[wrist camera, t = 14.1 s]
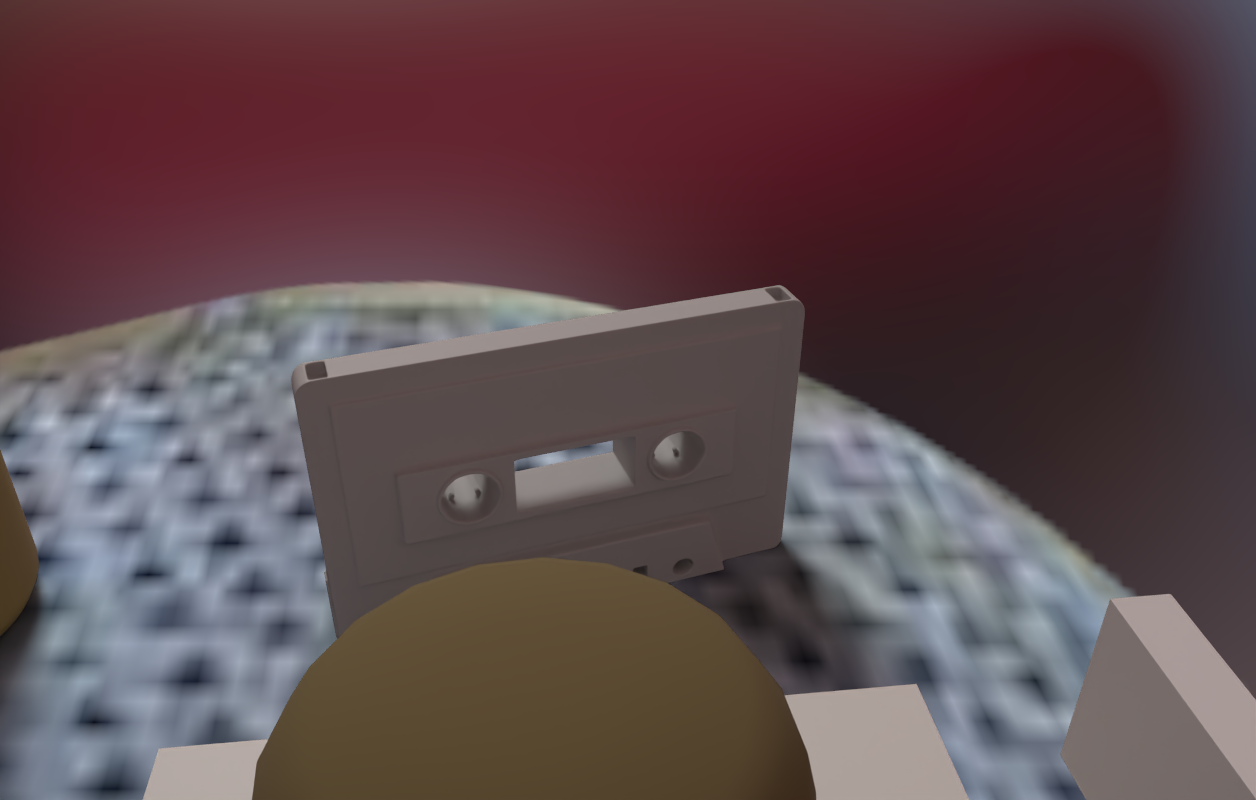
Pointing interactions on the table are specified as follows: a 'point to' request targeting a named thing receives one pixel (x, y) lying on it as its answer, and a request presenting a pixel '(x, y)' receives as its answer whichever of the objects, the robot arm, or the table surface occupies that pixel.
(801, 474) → the table surface
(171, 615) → the table surface
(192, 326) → the table surface
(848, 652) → the table surface
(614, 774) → the cork
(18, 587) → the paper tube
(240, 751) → the socket block
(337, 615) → the cassette
